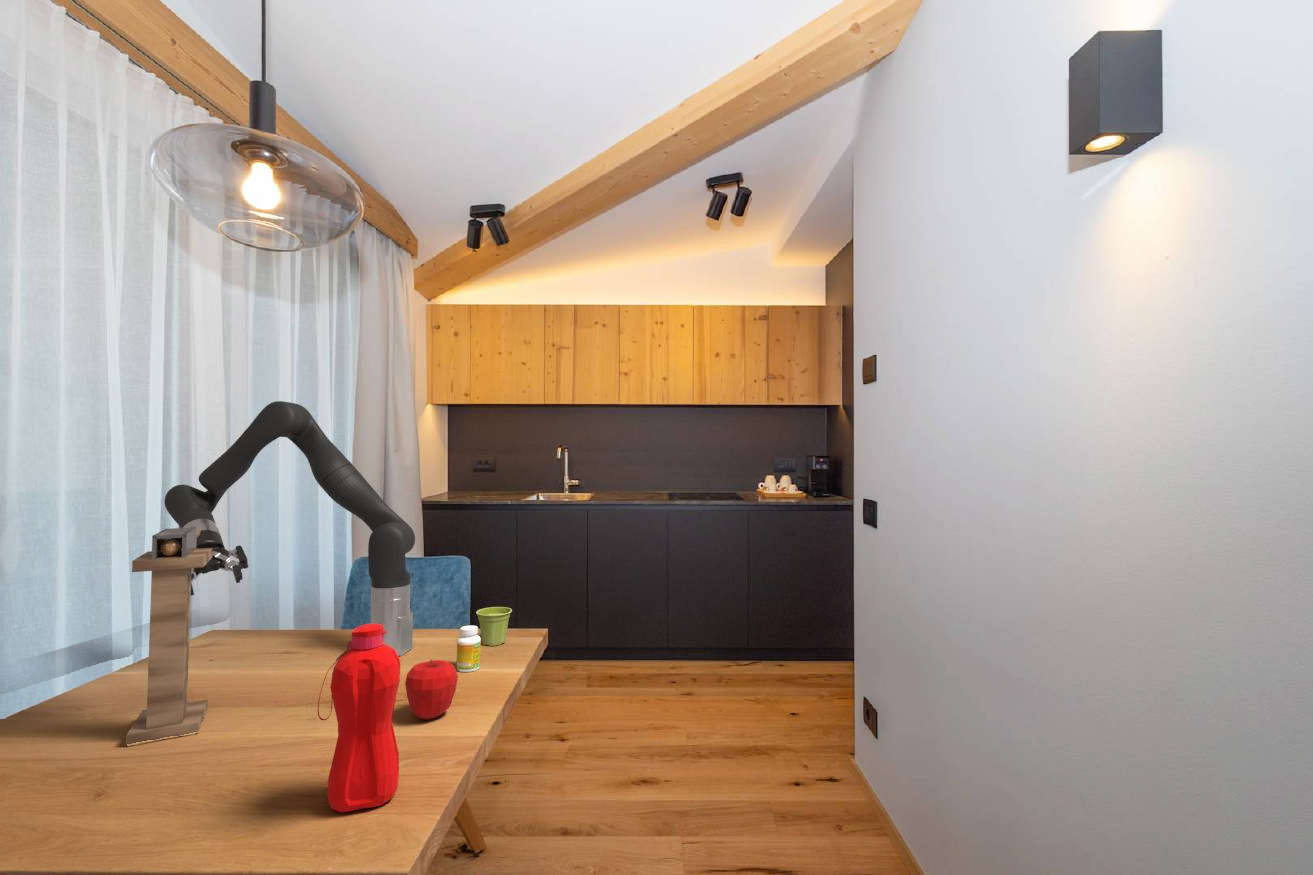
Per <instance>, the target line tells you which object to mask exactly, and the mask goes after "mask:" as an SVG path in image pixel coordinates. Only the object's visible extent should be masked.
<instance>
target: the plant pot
mask: <svg viewBox="0 0 1313 875" xmlns="http://www.w3.org/2000/svg"><path fill="white" fill-rule="evenodd" d="M512 612H513V610H512V608H510V607H506V606H505V607H504V606H491V607H485V608H480V609H477V611H476V612H475V613H476V615H477V618H478V619H477V620H478V622H479V629H480V635H481V636H480V638H481V644H482V645H483V646H490V647H494V646H500V645H502V644H505V643H506V640H507V634H508V626H509V619H510V617H511V613H512Z"/></svg>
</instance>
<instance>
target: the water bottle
mask: <svg viewBox="0 0 1313 875" xmlns="http://www.w3.org/2000/svg"><path fill="white" fill-rule="evenodd" d="M385 633H387V631H384V628H383V625H381V624H371V623H365V624H362V625H359V626H358V627H355V628H353V629H352V631H351V641H347V644H346V645H347V646H346V650H344V652H342V653H341V654H340V655H338V657H336V660H335V662H333V664H332V665H331V666H330V667H329V668H328V670H327V672H326V674H325V677H324V680H323V683H322V684H321V688H320V692H319V696H318V703H317V715H318V718H319V719H320V720H321V721H327V720H328V719H329V718H330V717H331V714H332V711H333V707H334V712H335V717H336V720H337V735H338V736H337V739H336V743H335V744H336V745H335V749H334V752H333V753H334V754H333V757H332V761H331V764H330V765H331V766H330V769H329V774H328V778H327V780H328V781H327V792H326V793H327V794H326V795H327V796H326V797H327V799H328V804H329V807H330V809H332V810H334V811H337V812H338V813H342V814H343V813H348V812H352V811H358V810H363V809H370V808H374V807H375V808H376V807H381V806H382V805H384V804H385V803H387V802H389V801H390V800H392V798H393V797H394V796H395V794H396V793H397V790H398V788H399V778H400V777H399V776H400V756H399V755H400V754H399V748H398V744H397V740H396V735H395V729H394V725H393V715H394V710H395V704H396V700H397V699H396V698H397V694H398V689H399V685H400V681H401V660H400V659H401V658H400V656H398V654H397V653H396V651H395V649H394V648H392V647H390V646H388V645H386V644H383V634H385ZM333 666H334V667H333ZM331 668H333V670H332V673H331V680H330V692H331V695H330V696H331V699H332V703H331V704H330V705H331V708H330V713H329V715H328V717H326V718H322V717H321V716H320V710H319V709H320V708H319V706H320V699H321V695H322V690H323V687H324V683H325V681H326V677H327V675H328V673H329V671H330V670H331Z"/></svg>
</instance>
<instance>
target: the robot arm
mask: <svg viewBox="0 0 1313 875" xmlns="http://www.w3.org/2000/svg"><path fill="white" fill-rule="evenodd" d="M279 438H286V439H288V440H290V441H291V442H292V443H293V444H294V445H295V446H296V448H298V449H299V450H300V451H301V452H302V454H304V456H305V458H306V460H307V461H308V464H309V466H310V467H309V468H310V470H311V472H312V475H313V477H314V480H315V481H316V483H317V484H318V486H319V487H320V488H322V489H323V491H324V492H325V493H326V494H327V495H328V496H329V497H330V499H332V501H333V502H335V503H336V504H337V505H339V506H340V507H341V508H343V509H345V510H346V511H348V512H349V513H351V514H353V515H354V516H356V517H357V518H359V519H360V520H361V521H362V522H364V523H365V525H366V526H367V527H368V528H369V529H370V531H372V532H371V533H370V535H369V540H368V544H367V545H368V547H367V548H368V550H367V552H368V554H367V557H368V559H367V560H368V564H367V565H368V575H369V578H370V580H371V581H370V582H371V588H370V589H371V591H370V594H371V596H370V624H381V625H383V628H384V631H387V633H385V634H383V644H386V645H388V646H390V647H392V648H394V649H395V651H396V653H397V654H398V656H399V657H400V656H403V655H404V654H406V653H407V652H408V651H411V650H412V649H413V630H414V629H413V628H414V626H413V625H414V624H413V623H414V613H413V611H410V610H411V608H410V607H411V604H410V603H411V574H410V572H409V571H408V570H407V567H406V566H407V565H406V555H407V554H408V553H410V552H411V551H412V549H414V546H415V544H416V535H415V532H414V530H413V528H412V527H411V526H410V525H409V524H408V523H407V521H405V520H404V519H403V518H402V517H400V516H399V514H398V513H396V512H395V511H394V510H393V509H392V508H390V506H389V505H388V504H387V503H386V502H385V501H384V500H383V499H382V498H381V496H380V495H379V494H378V493H377V491H376V490H375V489H374V488H373V487H372V485H371V484H370V483H369V482H368V481H367V480H366V478H365V476H363V475H362V473H361V472H360V471H359V470H358V469H357V467H356V466H354V465H353V463H352V462H351V461H350V460H349V459H348V458H347V457H346V456H345V455H344V454H343V452H342V451H340V449H339V448H338V447H337V446H336V445H335V444H334V443H333V442H332V441H331V440H330V439H329V437H328V436H326V434H325V432H324V431H323V430H322V428H321V427H320V425H319V424H318V423H317V421H316V419H315V418H314V417H313V416H312V414H311V413H310V411H309V410H308V409H307V408H305V407H304V406H303V405H301V404H299V403H296V402H295V403H294V402H289V401H283V400H279V401H277V400H276V401H273V402H270V403H269V404H267V405H266V406H264V407H263V408H262V410H261V411H260V412H259V413H258V414H257V415H256V417H254V419H253V420H252V422H251V423H250V424H249V425H248V427H247V428H246V429H245V430H244V431H243V432H242V434H241V435H240V436H239V437H238V438H237V439H236V440H235V441H234V443H232V445H231V446H230V447H229V448H228V449H227V450H226V451H224V452H223V454H221V455H220V456H219V457H218V458H217V459H215V460H214V461H213V462H212V463H211V464H209V466H207V467H206V468H205V469H204V470H203V471H202V472H201V473H200V474H199V476H198V482H199V483H200V485H201V486H202V487H203V488H204V489H205V490H206V491H204V490H202V489H199V488H195V487H193V486H191V485H188V484H177V485H175V486H172V487H171V488H170V489H169V490H168V491H167V492H166V494H165V497H164V507H165V509H166V511H167V513H168V514H169V515H170V516H171V518H172V520H173V521H174V522H175V523H177V525H178V528H189V527H197V528H198V529H199V530H200V535H199V537H198V538H197V541H196V549H200V548H212V559H211V560H210V561H209V562H208V563H207V564H206V565H205V566H204V567H200V568H191V596H194V595H195V593H194V587H193V584H192V582H193V581H194V580H197V578H199V576H200V575H201V574H202V575H205V574H207V573H210V572H215V571H216V572H217V571H219V570H223V571H226V572H232V574H233V577H234V580H235V583H236V584H239V583H241V581H242V580H243V578H244V577H243V573H242V572H243V571H242V570H243V569H248V568H249V563H248V557H247V555H246V552H245V551H244V549H243V547H242V545H236V546H235V548H234V549H231V550H228V549H226V548H225V543H224V542H223V538H222V536H221V533H220V530H219V528H218V527H217V524H216V520H215V518H214V515H213V511H214V510H215V509H216V507H217V506H218V503H219V502H220V500H221V499H222V498H223V496H224V495H225V493H226V492H227V490H229V489H230V488H231V487H232V486H233V485H234V484H235V483H236V482H237V481H239V480H240V479H242V477H243V476H245V474H246V473H247V472H248V471H249V470H250V467H251V466H252V464H253V463H254V460H255V459H256V458H257V456H258V455H259V453H260V452H261V451H262V450H263V449H264V448H265V447H266V446H268V445H269V444H271V443H272V442H274V441H275V440H277V439H279ZM231 557H233V558H235V559H236V560H234V559H232V558H231ZM237 559H238V561H237Z"/></svg>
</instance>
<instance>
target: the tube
mask: <svg viewBox="0 0 1313 875" xmlns="http://www.w3.org/2000/svg"><path fill="white" fill-rule="evenodd" d="M189 528H196V527H189ZM199 535H200V530H199V529H198V528H197V538H198V537H199ZM160 550H161V552H162V553H163V554H165V555H174V554H176V553H177V552H179V551H180V550H182V538H170V539H168V540H167V541H165V542H163V543H162V545H161V547H160Z"/></svg>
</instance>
